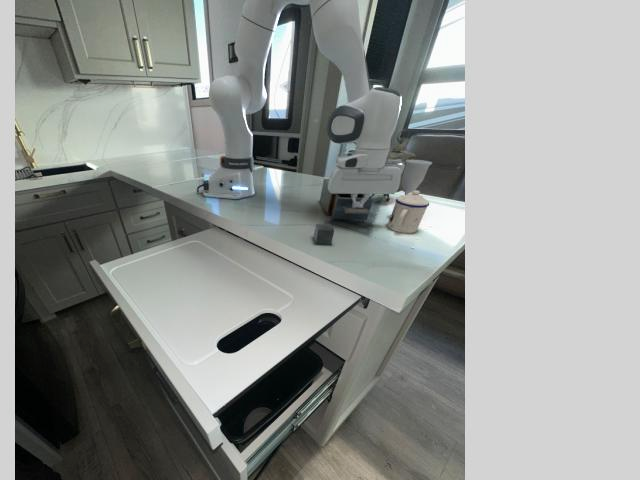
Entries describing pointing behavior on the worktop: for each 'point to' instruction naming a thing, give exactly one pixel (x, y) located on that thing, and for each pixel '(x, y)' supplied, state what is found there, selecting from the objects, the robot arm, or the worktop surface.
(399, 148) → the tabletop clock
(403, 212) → the teacup with lid
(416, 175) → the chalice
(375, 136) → the robot arm
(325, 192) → the cabinet
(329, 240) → the block
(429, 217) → the worktop surface
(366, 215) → the drawer
